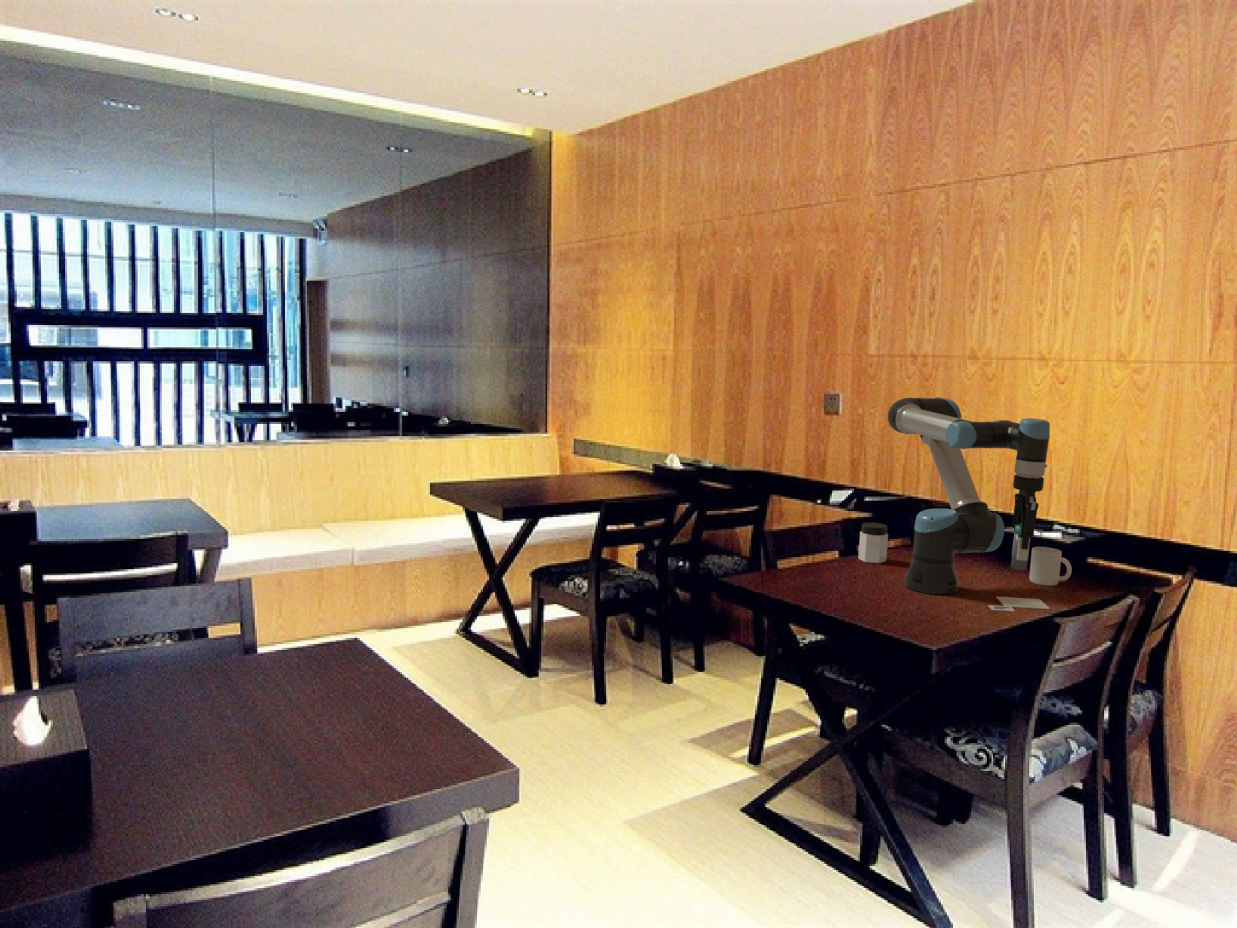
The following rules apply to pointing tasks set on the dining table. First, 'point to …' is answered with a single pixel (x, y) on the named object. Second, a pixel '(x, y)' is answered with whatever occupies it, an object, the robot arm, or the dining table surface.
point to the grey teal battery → (1016, 563)
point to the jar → (873, 543)
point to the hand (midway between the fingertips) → (1019, 557)
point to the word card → (1001, 608)
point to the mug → (1047, 566)
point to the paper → (1022, 602)
